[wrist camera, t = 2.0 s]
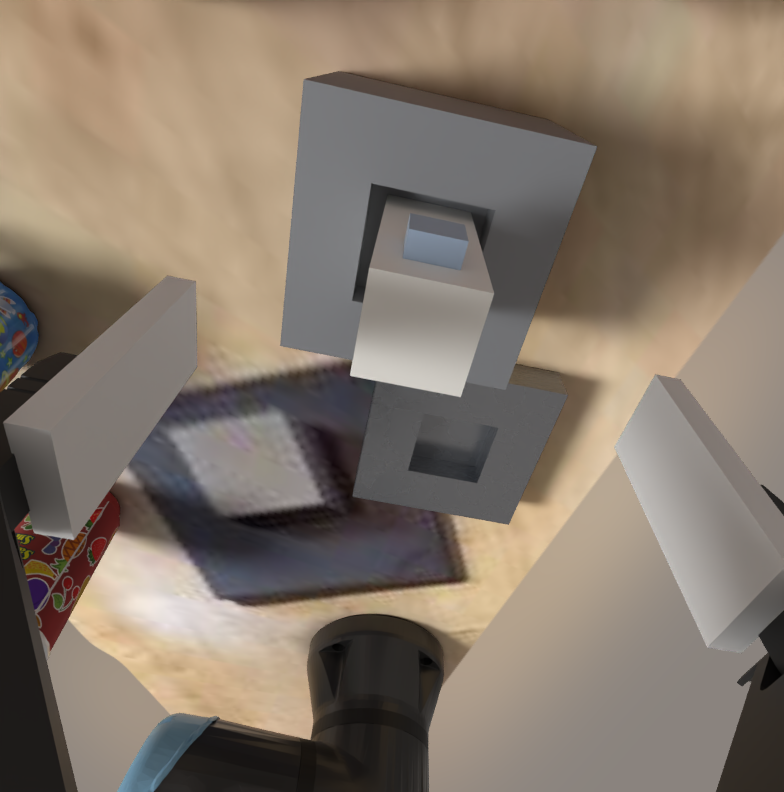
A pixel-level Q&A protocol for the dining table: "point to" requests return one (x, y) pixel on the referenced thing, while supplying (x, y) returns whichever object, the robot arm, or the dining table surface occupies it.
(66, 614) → the smoothie
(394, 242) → the plug
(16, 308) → the snack cup
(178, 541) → the dining table surface
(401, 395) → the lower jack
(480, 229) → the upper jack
